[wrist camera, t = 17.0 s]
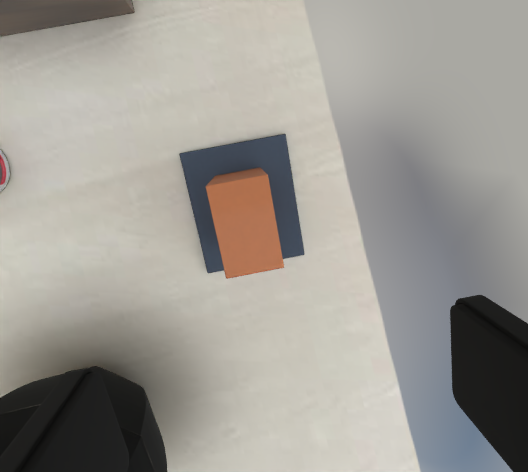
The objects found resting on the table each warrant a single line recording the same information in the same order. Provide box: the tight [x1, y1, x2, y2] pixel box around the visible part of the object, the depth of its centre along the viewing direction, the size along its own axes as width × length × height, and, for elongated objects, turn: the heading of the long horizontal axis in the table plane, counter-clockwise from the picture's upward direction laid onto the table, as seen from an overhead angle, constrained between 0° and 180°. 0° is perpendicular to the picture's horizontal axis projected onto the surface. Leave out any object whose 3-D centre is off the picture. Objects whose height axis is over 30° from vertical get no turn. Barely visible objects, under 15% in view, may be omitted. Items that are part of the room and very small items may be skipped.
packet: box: [206, 167, 284, 278], centre depth 29 cm, size 7×4×9 cm, turn 10°
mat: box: [180, 134, 304, 273], centre depth 34 cm, size 10×12×1 cm
